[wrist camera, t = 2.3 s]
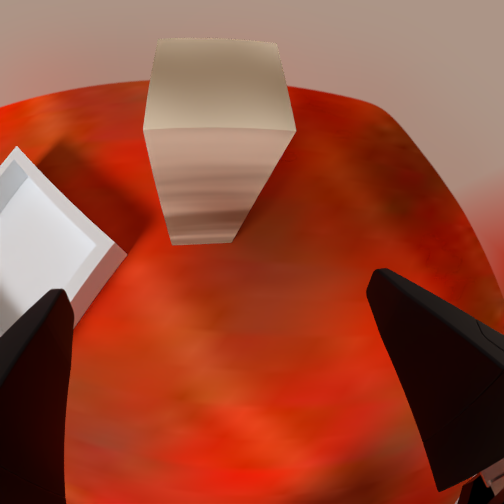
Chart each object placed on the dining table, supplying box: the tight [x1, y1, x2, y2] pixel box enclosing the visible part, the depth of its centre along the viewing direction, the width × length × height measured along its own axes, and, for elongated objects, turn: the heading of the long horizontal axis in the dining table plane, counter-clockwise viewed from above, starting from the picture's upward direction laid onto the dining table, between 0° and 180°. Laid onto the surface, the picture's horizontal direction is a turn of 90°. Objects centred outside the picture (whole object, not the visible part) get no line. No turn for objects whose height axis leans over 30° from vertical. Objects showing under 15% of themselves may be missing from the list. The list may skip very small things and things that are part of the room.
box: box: [0, 146, 128, 337], centre depth 15 cm, size 12×12×4 cm
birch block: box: [143, 38, 296, 245], centre depth 14 cm, size 4×4×13 cm
